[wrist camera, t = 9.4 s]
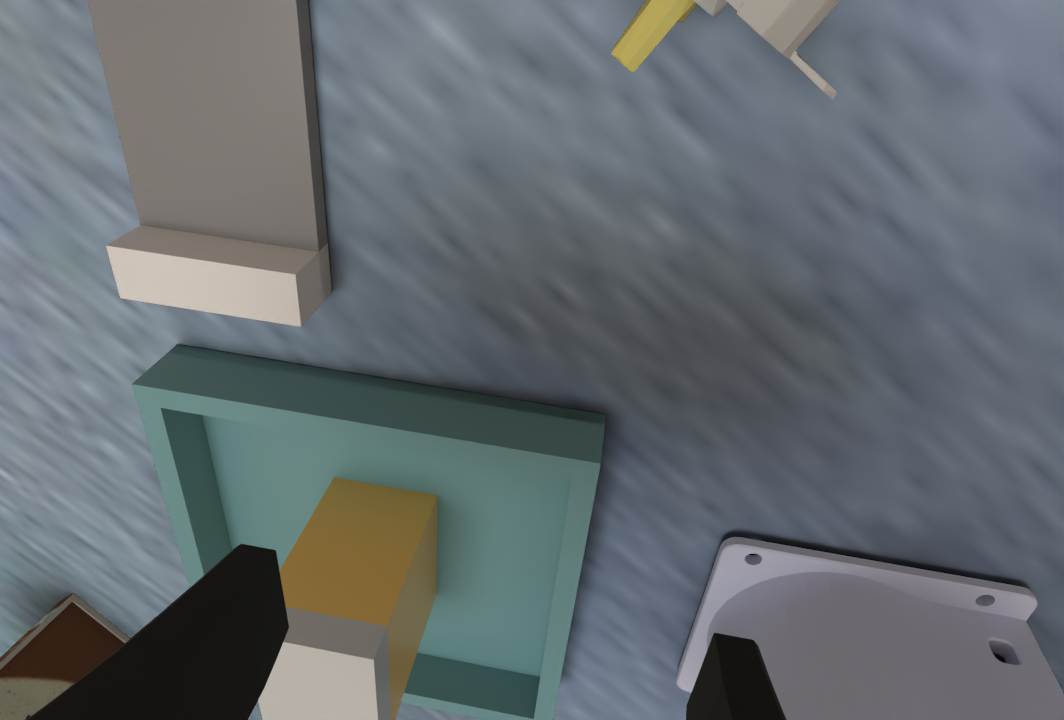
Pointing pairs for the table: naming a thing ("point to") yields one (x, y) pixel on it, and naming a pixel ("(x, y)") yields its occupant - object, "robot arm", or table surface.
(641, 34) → the electric motor
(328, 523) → the orange and white block
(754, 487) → the table surface
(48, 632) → the food container
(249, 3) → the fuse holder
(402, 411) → the parts tray
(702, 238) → the table surface
